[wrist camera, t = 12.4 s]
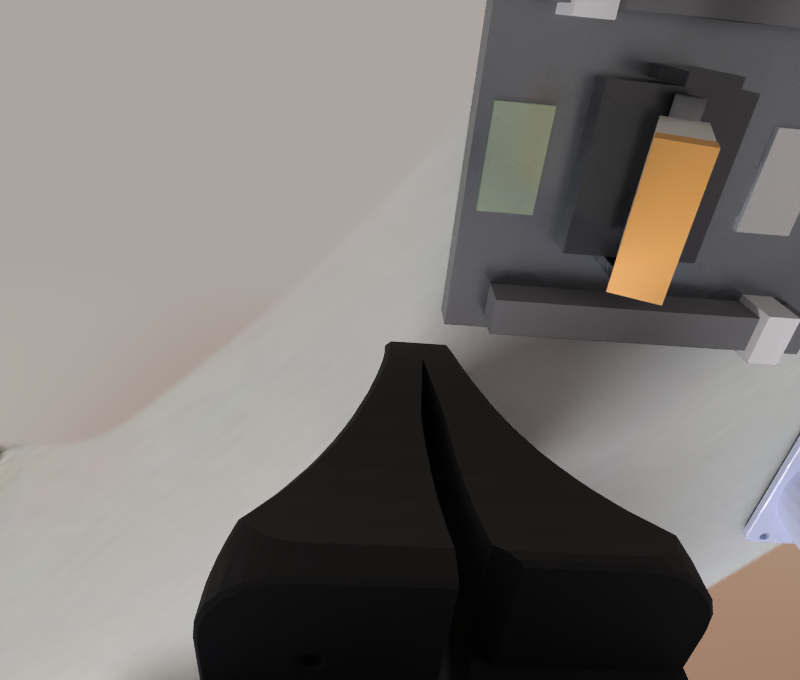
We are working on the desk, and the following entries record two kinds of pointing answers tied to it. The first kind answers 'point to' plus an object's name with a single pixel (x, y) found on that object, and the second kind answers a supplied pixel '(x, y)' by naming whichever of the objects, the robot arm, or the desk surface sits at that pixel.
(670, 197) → the lever
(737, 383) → the desk surface
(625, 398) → the desk surface
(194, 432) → the desk surface
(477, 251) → the breaker panel
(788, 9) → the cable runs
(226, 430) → the desk surface
